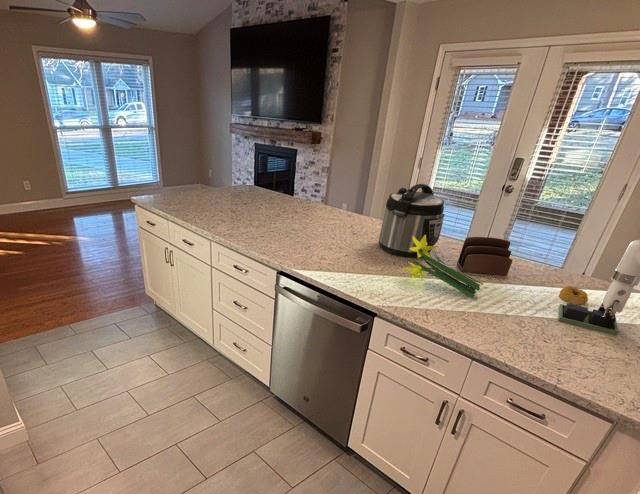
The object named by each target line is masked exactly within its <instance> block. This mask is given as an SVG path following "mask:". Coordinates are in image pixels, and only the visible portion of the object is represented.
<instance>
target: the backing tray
mask: <svg viewBox="0 0 640 494" xmlns="http://www.w3.org/2000/svg"><path fill="white" fill-rule="evenodd" d="M566 305H567V304H563V303H560V304H559V306H558V309H557V310H558V311H557V312H558V315H557V320H558V321H557V322H561V323H564V324H568V325H572V326H576V327H579V328H583V329H587V330H592V331H595V332H600V333H603V334H607V335H612V336H616V337H617V336H618V334H619V327H618V322H617V320H616V321H615V322H614V324H613V326H612V327H611V329H608V328H604V327H600V326H596V325H592V324H589V320H588V318H589V316H590V315H591V313H592V311H593V310H588V314H587V316H586V318H585V320H584V322H580V321H576V320H572V319H568V318H563V311H564V309H565V307H566Z"/></svg>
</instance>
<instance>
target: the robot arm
mask: <svg viewBox="0 0 640 494" xmlns="http://www.w3.org/2000/svg"><path fill="white" fill-rule="evenodd" d="M610 279H611V281H612V282H611V283H610V285H609V287H608V289H607V291H606V292H605V294H604V296H603V298H602V303H601V304H600V306H599V307H598V308H597V310H599V311H604V315H603V316H601V318H600V320H599V322H598V323H597V326H600V327H604V328H608V327H609V325H610V323H611V321H612V320H613V318H614V316H615V317H616V313H619V314H620V313H622V312H623V310H624V308H625V307H626V303H627V302H628V300H629V299H630V296H631V295H632V292H633V290H634V287H637V286H638V285H639V283H640V239H634V240H633V241H631V242H630V243H629V245H628V246H627V248H626V250H625V251H624V254H623V256H622V257H621V259H620V261H619V263H618V264H617V266H616V268H615V270H614V272H613V273H612V276H611V277H610ZM607 312H608V313H607Z"/></svg>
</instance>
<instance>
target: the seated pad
mask: <svg viewBox="0 0 640 494" xmlns="http://www.w3.org/2000/svg"><path fill="white" fill-rule="evenodd" d="M565 305H566V307H565V309H564V311H563V318H568V319H572V320H576V321H580V322H584V320H585V318H586V316H587V314H588V311H589V307H586V306H583V305H574V304H571V303H568V302H566V304H565Z"/></svg>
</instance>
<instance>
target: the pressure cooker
mask: <svg viewBox="0 0 640 494" xmlns="http://www.w3.org/2000/svg"><path fill="white" fill-rule="evenodd" d="M420 189H421V191H418V190H420ZM433 191H434V190H433V188H431V186H429V185H427V184H425V183H417V184H414V185H413V186H411V187H410V188H409V189H407V188H406V187H400V188H399V189H398V191H397V192H393V193H391V194H389V196H388V199H387V200H386V204H385V207H384V212H383V217H382V221H381V227H380V231H379V235H378V245H379V248H381V250H383V251H384V252H387V253H390V254H392V255H396V256H400V257H409V258H410V257H411V258H416V257H417V258H418V256H417V252H416V251H412V250H410V249H409V248H412V247H417V246H416V244H415V243H414V241H413V237H412V235H413V236H414V237H415V238H416V239H417V240H418V241H419V242H421V240H422V238H423V237H424V235H426V242H427V245H426V246H436V244H437V243H438V241H439V239H440V235H441V231H442V227H443V223H444V219H445V213H444V211H445V206H444V205H445V200H443V199H442V198H440V197H438V196H435V193H434V192H433ZM431 251H432V250H427V252H428V253H429V254H430V253H431Z"/></svg>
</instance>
